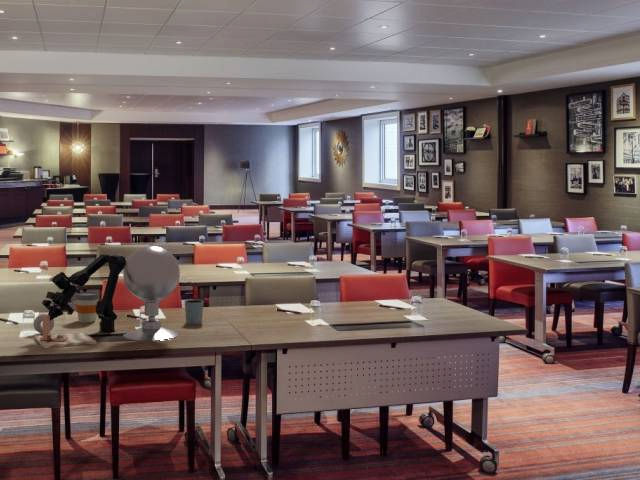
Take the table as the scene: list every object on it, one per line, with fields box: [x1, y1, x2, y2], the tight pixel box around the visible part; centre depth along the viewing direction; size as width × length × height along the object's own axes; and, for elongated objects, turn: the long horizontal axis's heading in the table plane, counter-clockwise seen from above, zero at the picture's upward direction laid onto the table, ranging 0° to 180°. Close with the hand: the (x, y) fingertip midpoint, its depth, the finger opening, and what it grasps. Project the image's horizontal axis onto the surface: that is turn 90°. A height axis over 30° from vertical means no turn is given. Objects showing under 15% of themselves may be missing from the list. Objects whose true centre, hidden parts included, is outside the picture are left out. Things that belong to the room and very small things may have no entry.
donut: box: [33, 313, 55, 335], centre depth 422 cm, size 10×4×10 cm, turn 114°
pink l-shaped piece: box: [40, 315, 68, 341], centre depth 402 cm, size 12×6×11 cm, turn 91°
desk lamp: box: [122, 245, 181, 342], centre depth 423 cm, size 28×28×45 cm
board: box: [33, 332, 97, 349], centre depth 407 cm, size 24×22×4 cm
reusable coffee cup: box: [74, 291, 100, 324], centre depth 456 cm, size 13×13×15 cm
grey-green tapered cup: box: [184, 299, 204, 325], centre depth 458 cm, size 10×10×12 cm
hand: (47, 321), depth 403 cm, fingers closed
